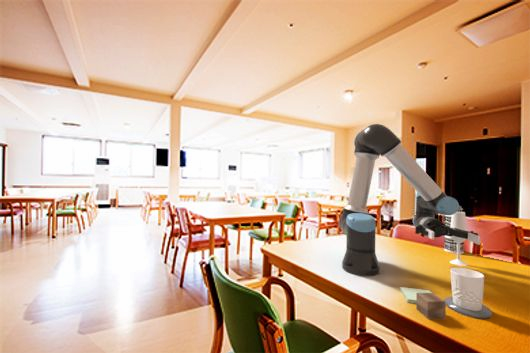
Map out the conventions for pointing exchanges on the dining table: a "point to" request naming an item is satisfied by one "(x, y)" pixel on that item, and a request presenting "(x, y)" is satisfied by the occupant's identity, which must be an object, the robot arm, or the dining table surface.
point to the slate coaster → (476, 314)
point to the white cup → (467, 288)
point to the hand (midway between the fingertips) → (455, 238)
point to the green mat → (412, 293)
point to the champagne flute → (460, 223)
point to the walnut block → (431, 306)
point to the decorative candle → (449, 242)
